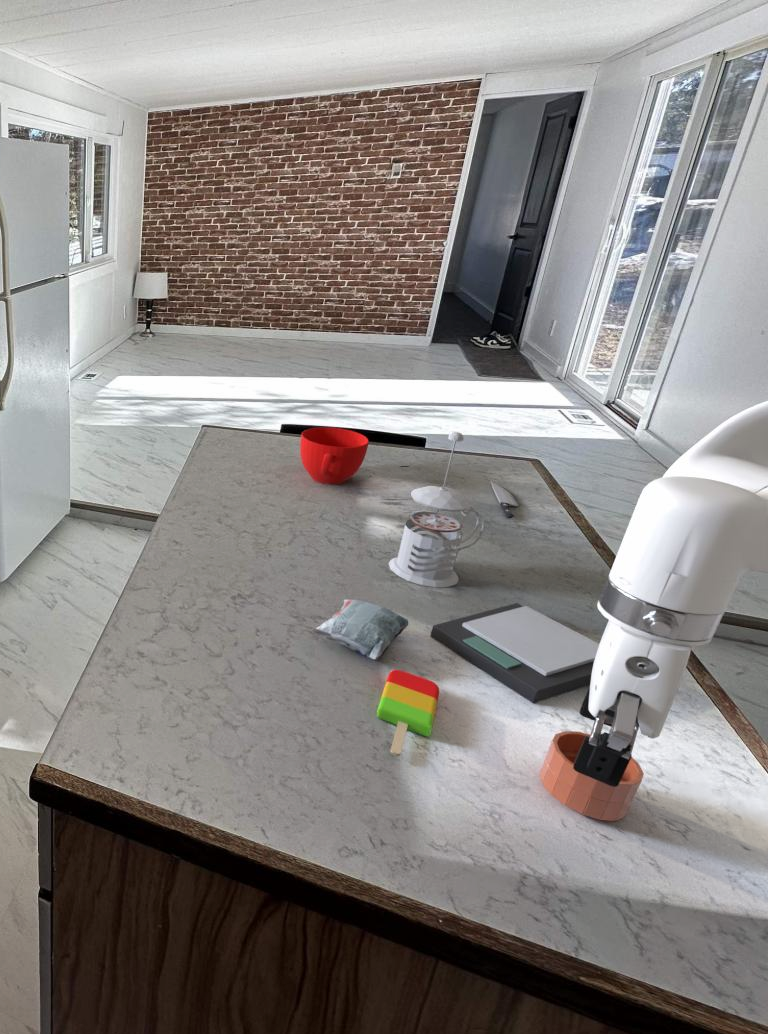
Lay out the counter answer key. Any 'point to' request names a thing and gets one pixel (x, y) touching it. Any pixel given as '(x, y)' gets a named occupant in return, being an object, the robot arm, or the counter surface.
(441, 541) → the french press
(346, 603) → the packaged food
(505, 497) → the chef's knife
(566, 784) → the bowl
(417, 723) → the popsicle
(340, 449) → the ceramic cup
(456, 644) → the scale
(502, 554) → the counter surface
